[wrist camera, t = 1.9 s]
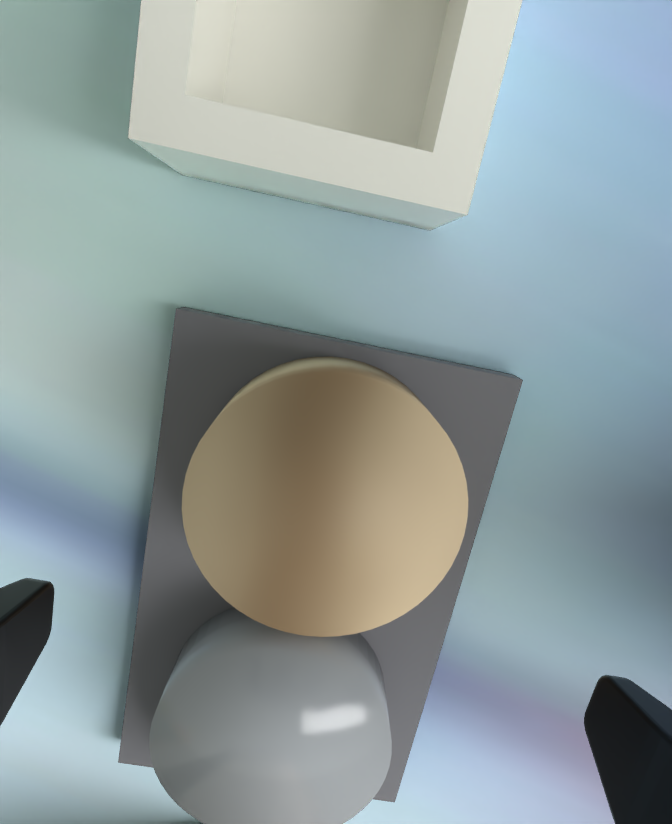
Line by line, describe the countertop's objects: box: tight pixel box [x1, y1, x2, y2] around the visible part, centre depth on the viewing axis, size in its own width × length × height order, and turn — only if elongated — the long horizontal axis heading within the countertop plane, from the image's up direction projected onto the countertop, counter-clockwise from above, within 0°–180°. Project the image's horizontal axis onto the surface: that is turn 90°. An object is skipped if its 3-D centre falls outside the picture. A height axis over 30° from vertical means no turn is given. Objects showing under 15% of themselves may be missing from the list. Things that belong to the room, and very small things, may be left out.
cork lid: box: [182, 357, 468, 637], centre depth 14 cm, size 7×7×3 cm
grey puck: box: [149, 607, 392, 824], centre depth 17 cm, size 7×7×2 cm
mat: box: [118, 307, 523, 802], centre depth 17 cm, size 10×16×1 cm, turn 168°
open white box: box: [128, 0, 522, 230], centre depth 12 cm, size 7×7×4 cm
